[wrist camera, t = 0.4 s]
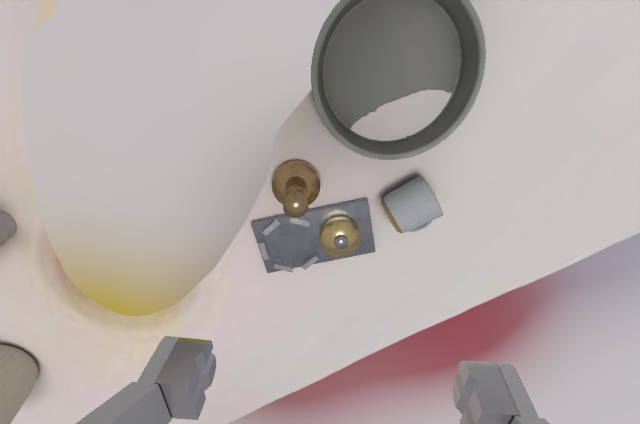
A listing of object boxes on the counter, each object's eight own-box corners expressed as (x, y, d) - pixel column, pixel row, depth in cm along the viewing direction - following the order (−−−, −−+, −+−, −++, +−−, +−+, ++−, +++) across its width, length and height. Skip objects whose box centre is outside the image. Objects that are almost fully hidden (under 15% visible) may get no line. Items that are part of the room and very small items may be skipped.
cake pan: (279, 96, 51) (277, 101, 47) (378, -70, 43) (387, -82, 39) (400, 178, 58) (407, 188, 54) (505, 49, 50) (523, 49, 46)
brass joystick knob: (267, 165, 56) (261, 187, 47) (314, 155, 55) (317, 176, 47) (279, 207, 59) (275, 235, 50) (323, 198, 59) (327, 225, 50)
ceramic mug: (374, 193, 59) (384, 213, 52) (416, 168, 57) (432, 185, 51) (401, 235, 64) (413, 258, 57) (440, 213, 62) (457, 234, 55)
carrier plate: (251, 219, 60) (248, 232, 56) (366, 196, 59) (371, 207, 55) (268, 270, 65) (266, 285, 61) (374, 249, 64) (379, 263, 60)
